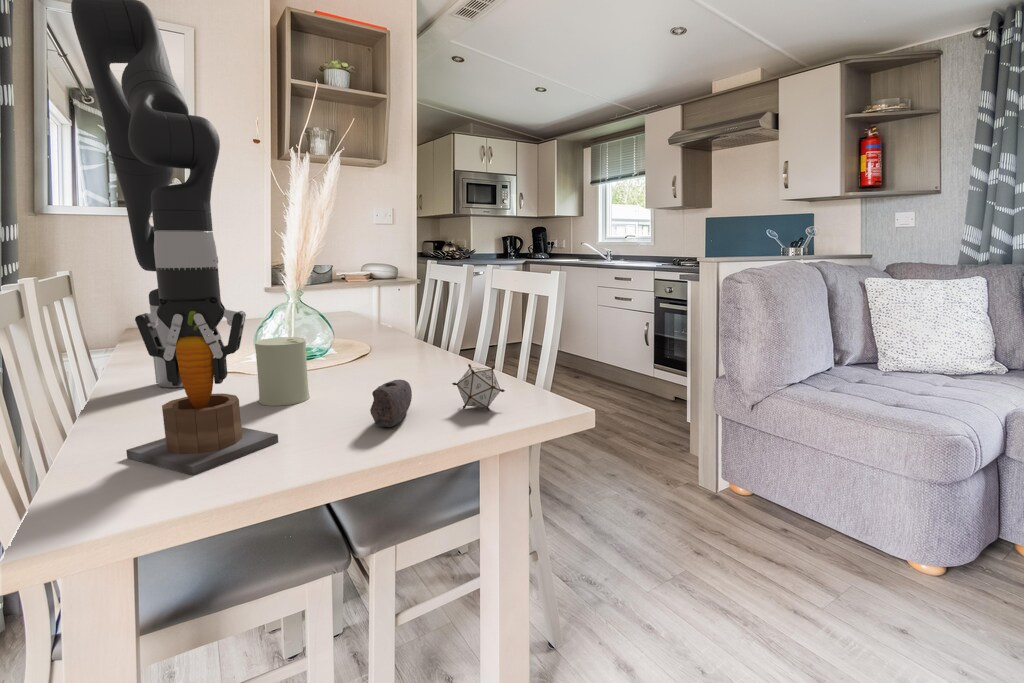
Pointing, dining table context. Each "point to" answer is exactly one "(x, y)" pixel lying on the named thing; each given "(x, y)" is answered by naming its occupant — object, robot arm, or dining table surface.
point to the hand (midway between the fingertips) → (198, 383)
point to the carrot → (195, 367)
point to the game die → (478, 387)
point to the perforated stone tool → (391, 402)
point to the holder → (201, 436)
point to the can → (282, 371)
